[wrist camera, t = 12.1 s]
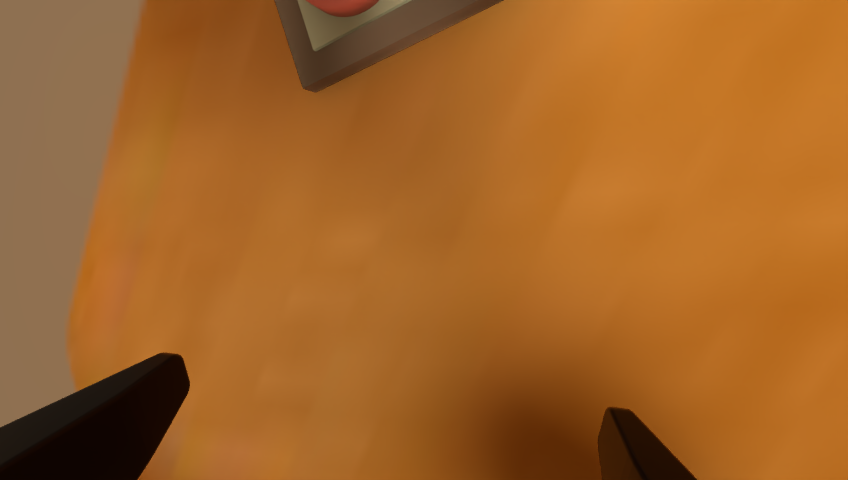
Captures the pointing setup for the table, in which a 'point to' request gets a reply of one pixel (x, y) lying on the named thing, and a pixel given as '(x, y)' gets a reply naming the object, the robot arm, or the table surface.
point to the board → (363, 34)
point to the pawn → (343, 6)
